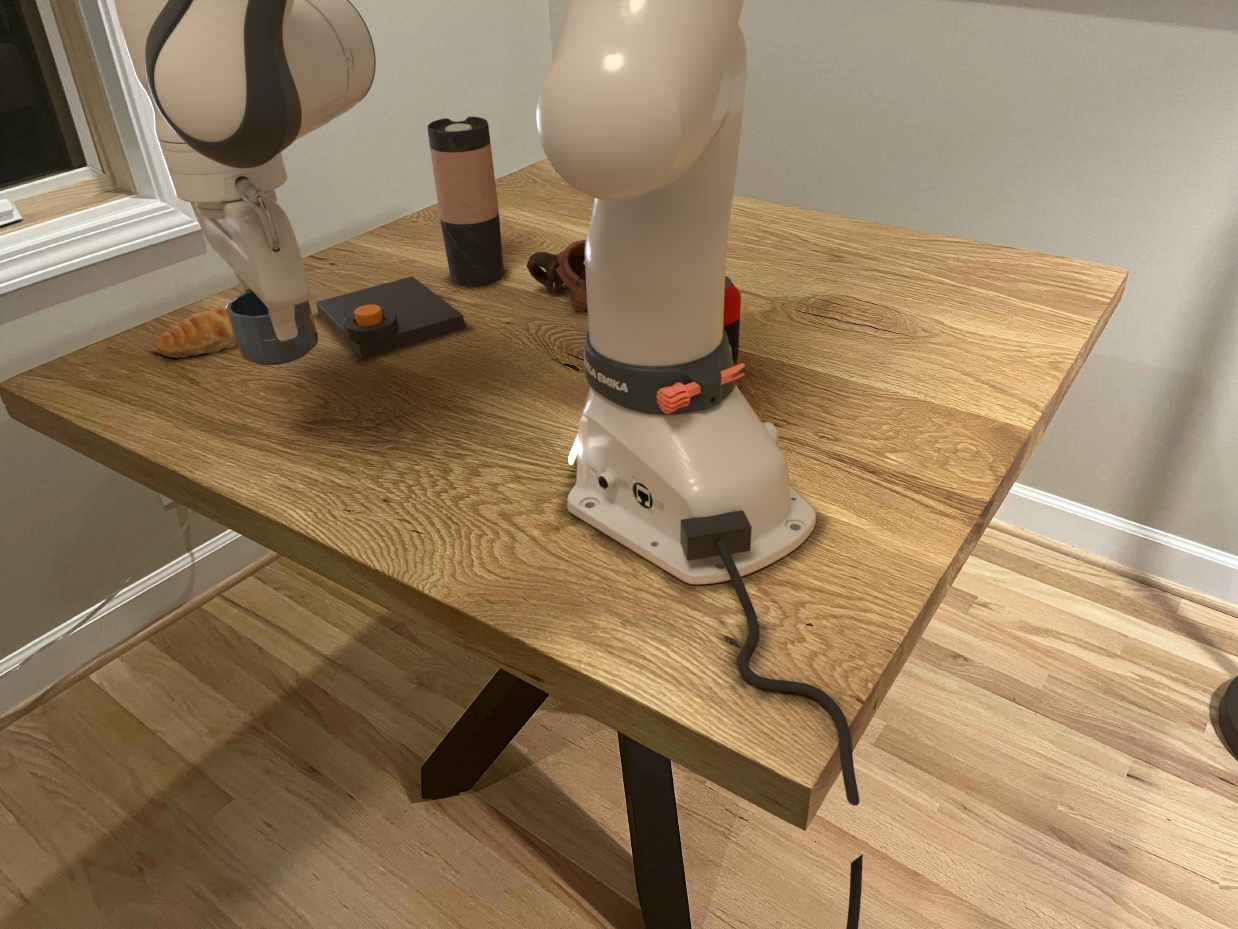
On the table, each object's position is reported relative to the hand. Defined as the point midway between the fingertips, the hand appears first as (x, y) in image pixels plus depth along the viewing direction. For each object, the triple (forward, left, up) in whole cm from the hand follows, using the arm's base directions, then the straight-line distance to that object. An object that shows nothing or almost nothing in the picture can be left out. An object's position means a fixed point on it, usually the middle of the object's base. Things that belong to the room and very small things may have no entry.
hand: (272, 321), depth 81 cm
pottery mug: (+13, -39, -14) cm, 44 cm away
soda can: (-15, -37, -14) cm, 43 cm away
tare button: (+16, -13, -10) cm, 23 cm away
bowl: (0, 0, -3) cm, 3 cm away
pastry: (+29, +3, -14) cm, 32 cm away
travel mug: (+27, -32, -14) cm, 44 cm away
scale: (+21, -17, -13) cm, 30 cm away
